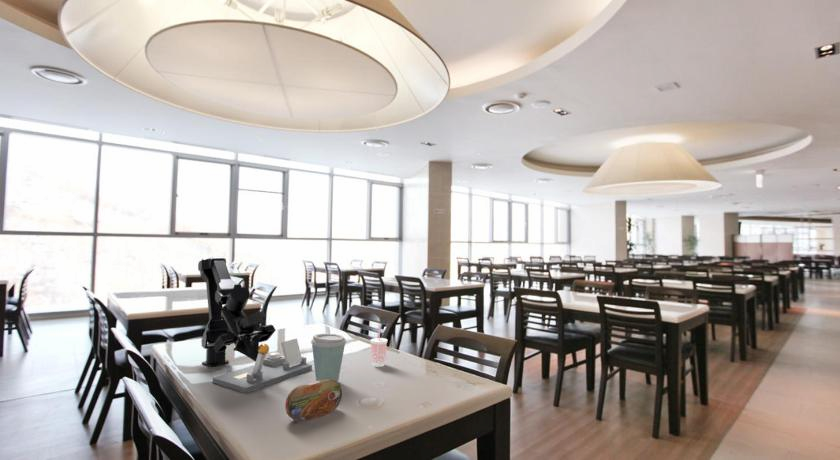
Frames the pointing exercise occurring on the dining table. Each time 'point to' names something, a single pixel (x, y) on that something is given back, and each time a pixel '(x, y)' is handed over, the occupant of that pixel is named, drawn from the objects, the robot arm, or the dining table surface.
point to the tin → (313, 400)
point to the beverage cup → (378, 351)
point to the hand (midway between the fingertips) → (257, 360)
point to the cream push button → (274, 356)
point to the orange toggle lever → (260, 359)
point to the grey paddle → (291, 351)
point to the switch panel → (261, 375)
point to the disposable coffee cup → (328, 355)
